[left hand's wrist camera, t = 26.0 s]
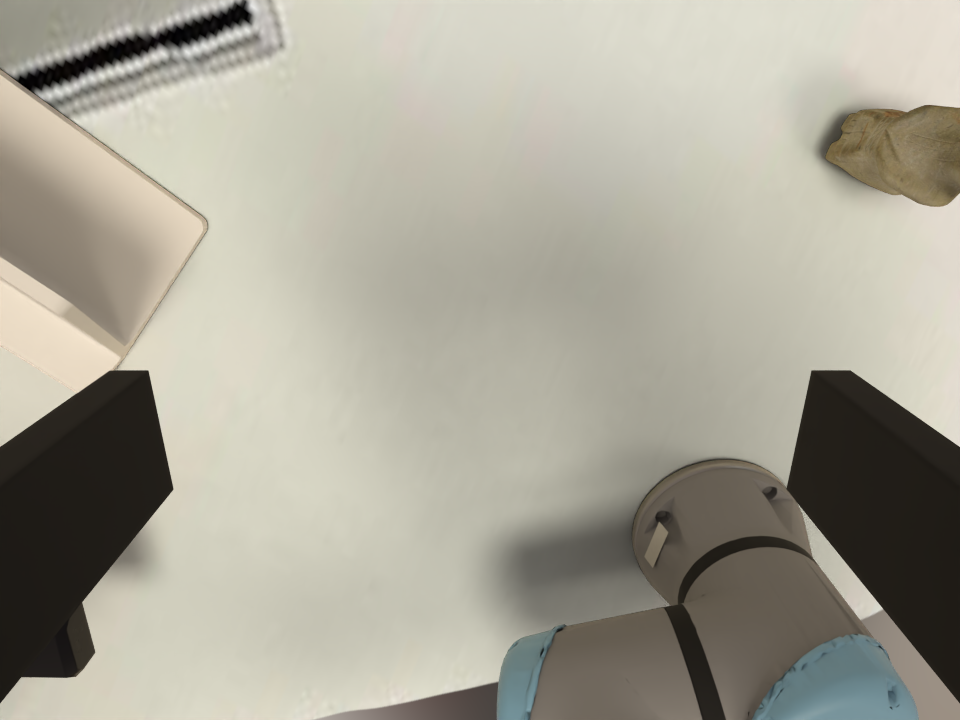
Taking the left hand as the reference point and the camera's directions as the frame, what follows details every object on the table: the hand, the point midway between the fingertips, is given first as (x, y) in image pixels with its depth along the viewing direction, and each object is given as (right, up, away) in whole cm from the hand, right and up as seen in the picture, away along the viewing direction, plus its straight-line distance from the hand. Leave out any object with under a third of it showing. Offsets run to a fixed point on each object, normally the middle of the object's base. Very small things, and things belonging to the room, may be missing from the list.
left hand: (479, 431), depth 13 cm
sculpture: (+29, +17, +34) cm, 48 cm away
